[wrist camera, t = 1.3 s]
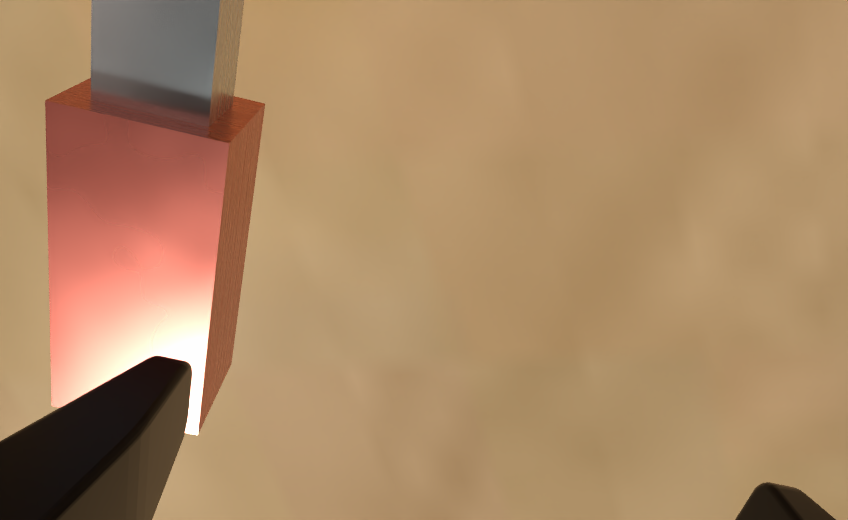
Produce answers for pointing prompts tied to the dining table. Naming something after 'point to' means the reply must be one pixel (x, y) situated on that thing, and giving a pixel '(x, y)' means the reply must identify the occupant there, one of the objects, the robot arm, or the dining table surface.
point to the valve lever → (150, 197)
